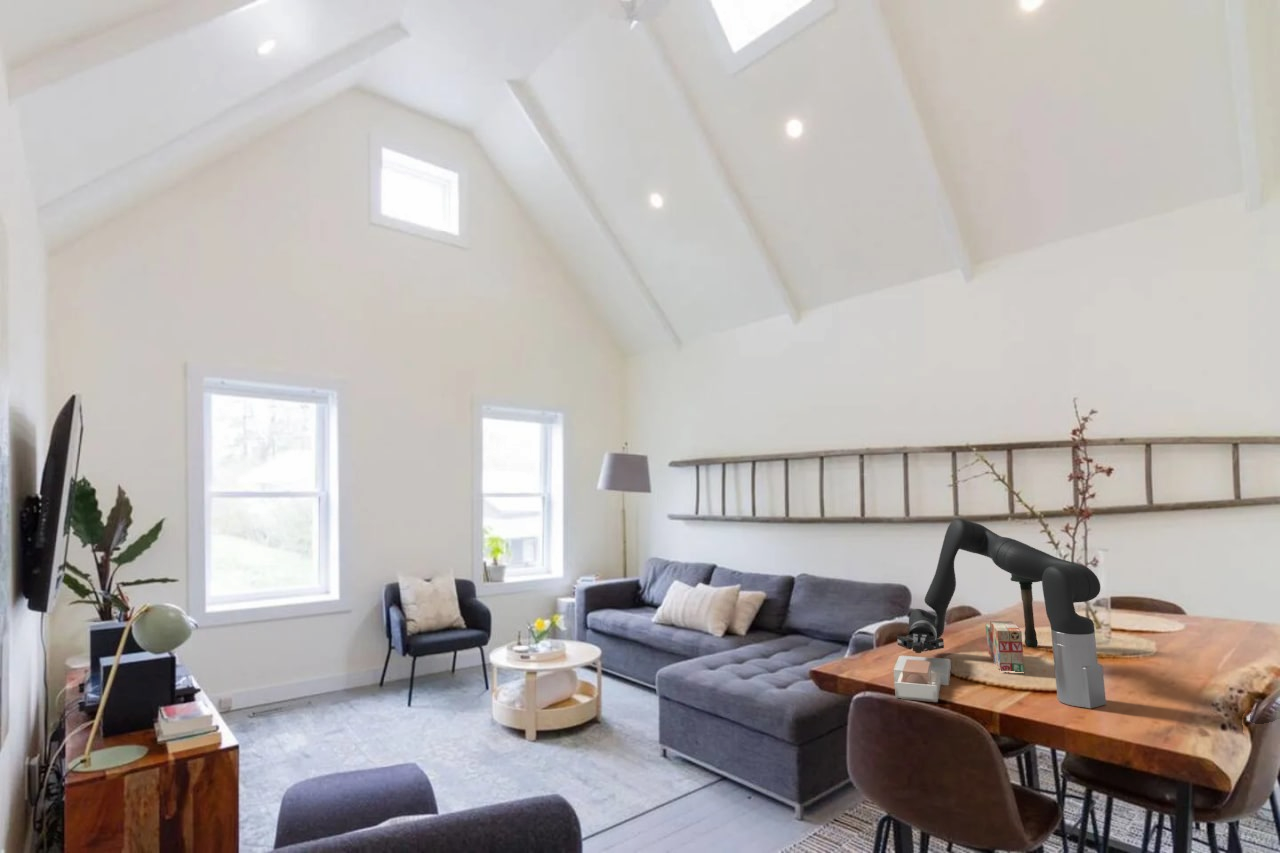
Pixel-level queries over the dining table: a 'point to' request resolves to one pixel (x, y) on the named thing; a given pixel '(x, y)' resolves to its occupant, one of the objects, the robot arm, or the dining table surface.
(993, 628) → the stack of blocks
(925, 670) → the tan piece
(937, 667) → the white windowed box
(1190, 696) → the dining table surface
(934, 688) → the tray
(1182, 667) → the dining table surface
